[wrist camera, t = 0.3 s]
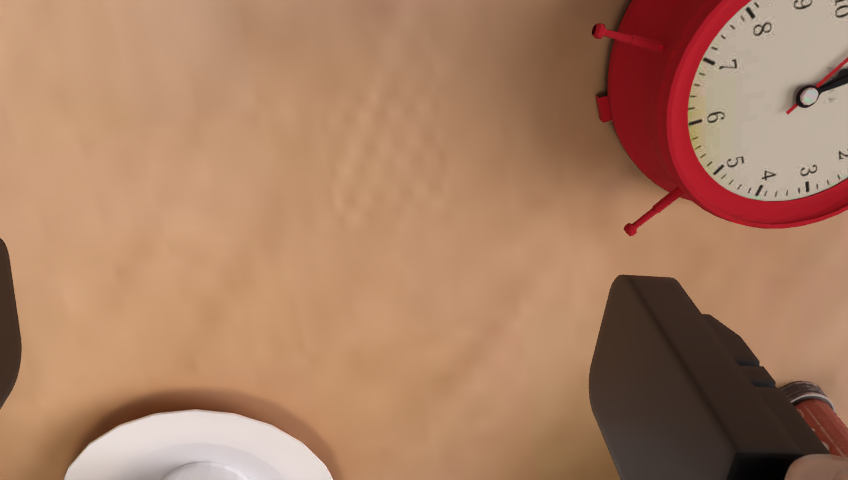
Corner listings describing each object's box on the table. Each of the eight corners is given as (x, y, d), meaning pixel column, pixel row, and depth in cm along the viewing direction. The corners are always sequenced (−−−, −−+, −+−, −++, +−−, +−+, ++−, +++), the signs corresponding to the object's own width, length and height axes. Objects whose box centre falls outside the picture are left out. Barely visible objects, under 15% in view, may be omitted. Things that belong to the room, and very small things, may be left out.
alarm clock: (575, -12, 22) (1209, -166, 19) (570, -56, 28) (1063, -182, 24) (627, 285, 27) (1138, 211, 24) (615, 199, 33) (1030, 128, 29)
